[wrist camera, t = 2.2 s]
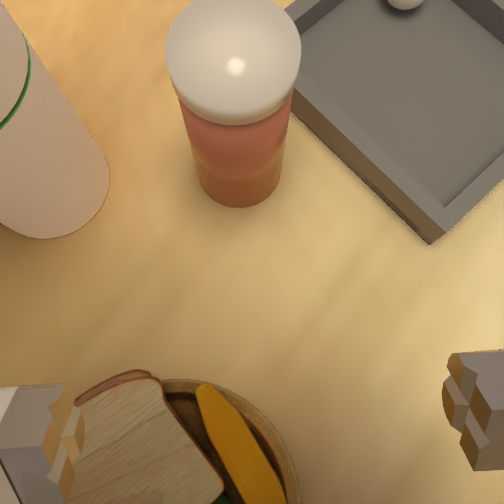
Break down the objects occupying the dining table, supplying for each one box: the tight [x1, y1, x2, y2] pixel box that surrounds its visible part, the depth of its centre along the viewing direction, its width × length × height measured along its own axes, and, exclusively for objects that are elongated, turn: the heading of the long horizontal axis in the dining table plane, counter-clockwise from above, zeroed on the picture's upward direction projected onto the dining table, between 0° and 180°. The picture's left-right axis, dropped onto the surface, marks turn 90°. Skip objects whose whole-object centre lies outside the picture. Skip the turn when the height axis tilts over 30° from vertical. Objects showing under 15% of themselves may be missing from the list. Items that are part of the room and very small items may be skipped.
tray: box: [284, 0, 504, 245], centre depth 29 cm, size 16×14×2 cm
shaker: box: [165, 0, 301, 208], centre depth 24 cm, size 5×5×11 cm
